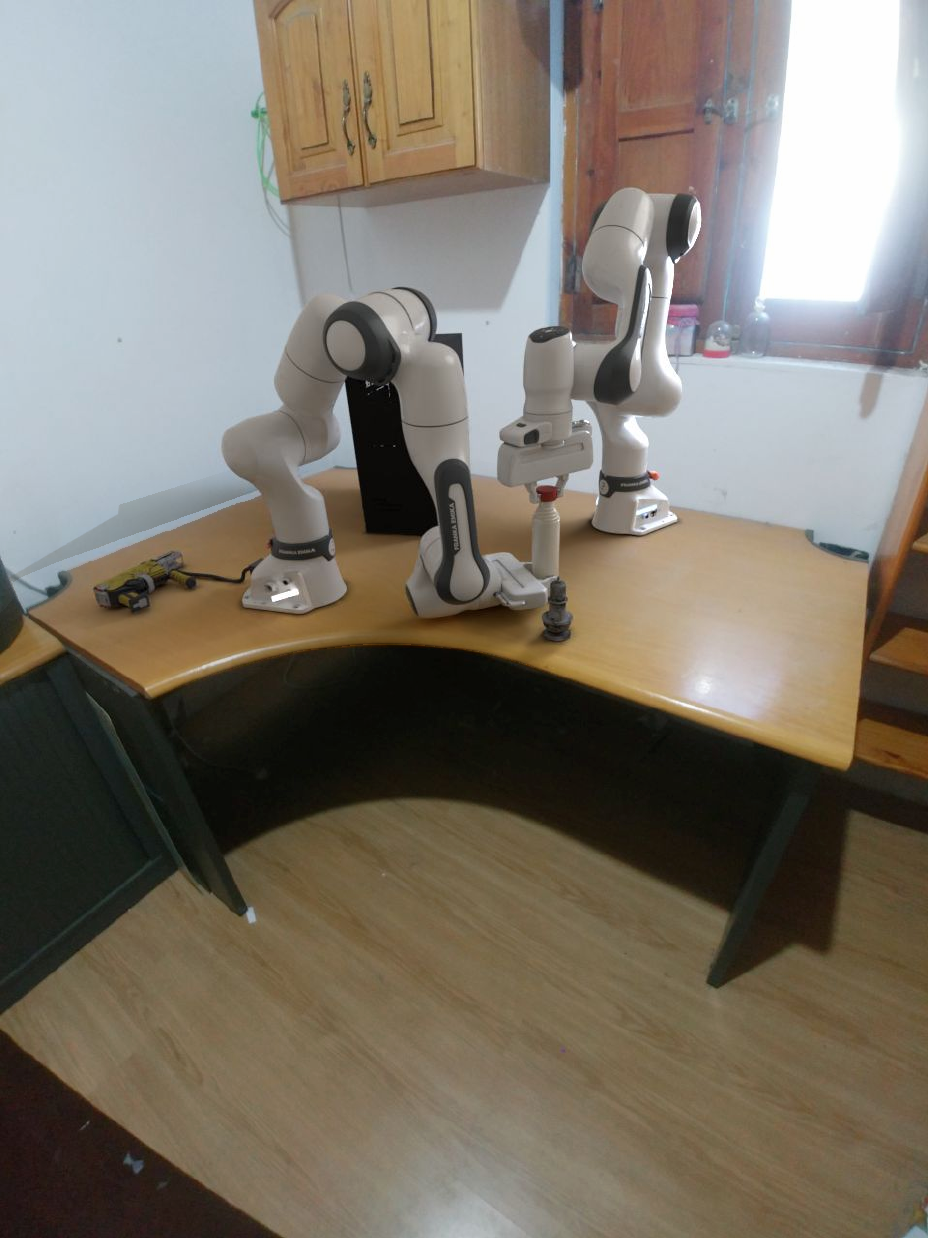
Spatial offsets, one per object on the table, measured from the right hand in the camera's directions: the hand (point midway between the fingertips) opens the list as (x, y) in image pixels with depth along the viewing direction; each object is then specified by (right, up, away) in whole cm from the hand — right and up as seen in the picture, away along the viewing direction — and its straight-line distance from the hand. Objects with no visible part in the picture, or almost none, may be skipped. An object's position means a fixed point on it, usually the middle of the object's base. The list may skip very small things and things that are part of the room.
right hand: (546, 499), depth 116 cm
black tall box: (-28, +9, +60) cm, 67 cm away
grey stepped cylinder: (+2, -26, -3) cm, 26 cm away
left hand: (+2, -14, +8) cm, 16 cm away
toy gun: (-86, -16, +23) cm, 90 cm away
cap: (0, +2, -1) cm, 2 cm away
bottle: (+1, -18, +11) cm, 21 cm away
